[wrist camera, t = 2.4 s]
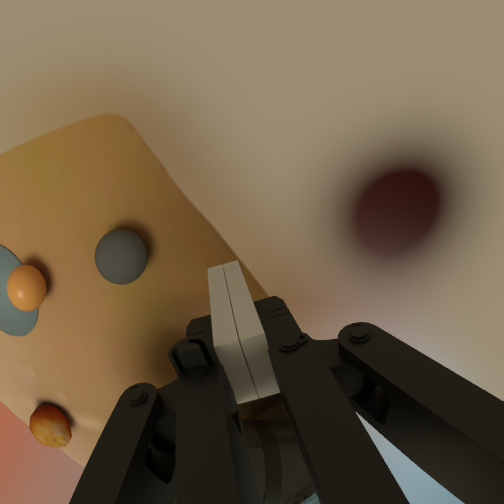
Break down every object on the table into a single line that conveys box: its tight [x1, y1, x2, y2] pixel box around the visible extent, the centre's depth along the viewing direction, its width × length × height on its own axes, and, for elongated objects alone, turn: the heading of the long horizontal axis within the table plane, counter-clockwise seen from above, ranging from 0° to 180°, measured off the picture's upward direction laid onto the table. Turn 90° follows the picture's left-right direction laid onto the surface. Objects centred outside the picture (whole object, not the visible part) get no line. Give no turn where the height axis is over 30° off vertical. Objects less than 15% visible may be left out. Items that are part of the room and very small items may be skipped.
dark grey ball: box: [95, 229, 147, 284], centre depth 26 cm, size 6×6×6 cm
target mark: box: [0, 245, 38, 336], centre depth 27 cm, size 14×14×1 cm
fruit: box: [30, 404, 72, 447], centre depth 32 cm, size 8×8×8 cm
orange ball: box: [7, 265, 46, 311], centre depth 25 cm, size 6×6×6 cm
